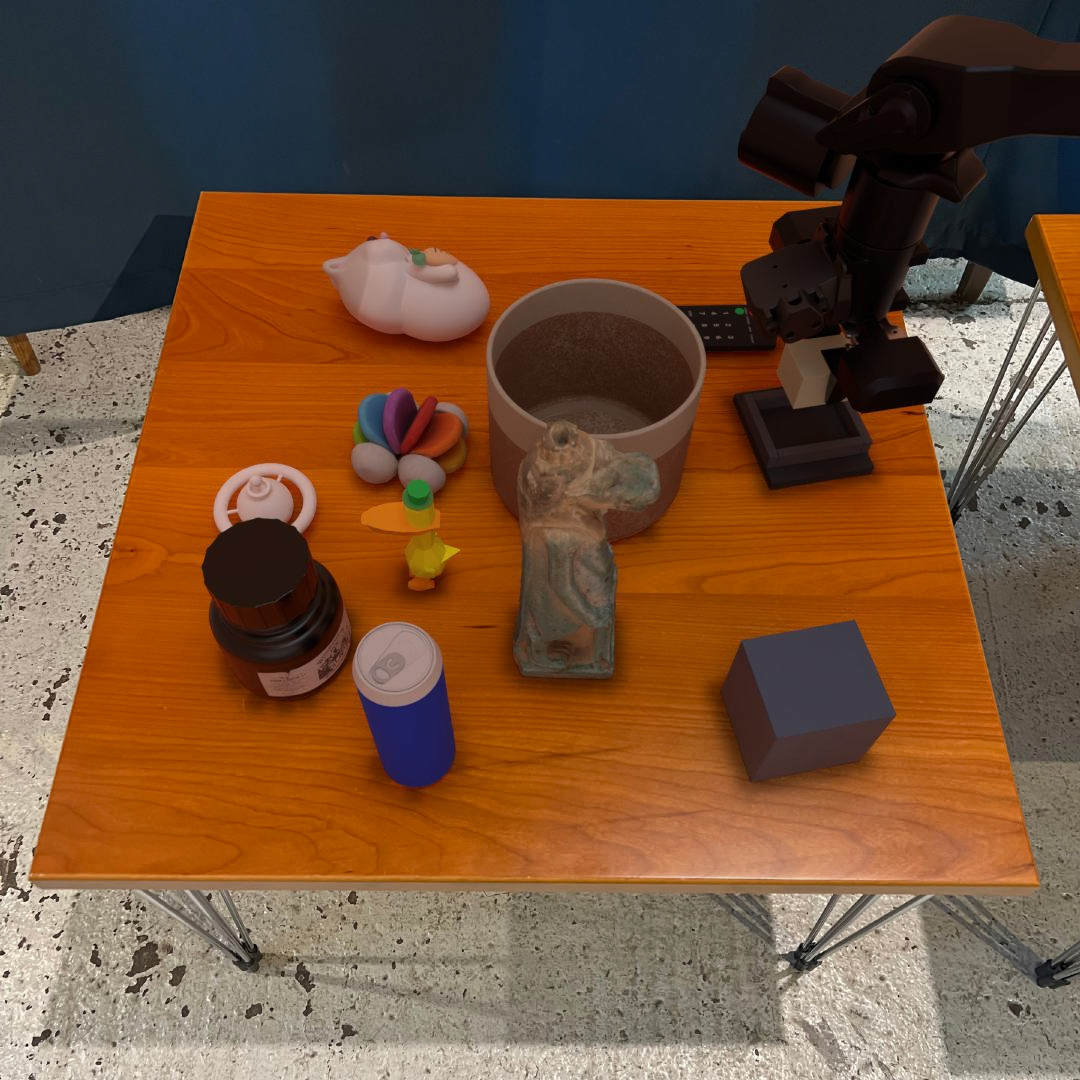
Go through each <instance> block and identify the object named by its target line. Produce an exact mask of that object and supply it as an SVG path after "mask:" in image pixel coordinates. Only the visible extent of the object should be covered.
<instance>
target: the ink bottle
mask: <svg viewBox="0 0 1080 1080" xmlns="http://www.w3.org/2000/svg"><path fill="white" fill-rule="evenodd" d="M232 525H233V526H232V527H230V528H228V529H227V530H225V531H223V532H219V533H218V535H216V537H215V539H214V540H213V541H212V542H211V544H209V546H208V547H207V548H206V549H205V554H204V558H203V562H202V563H201V571H202V577H203V584H204V586H205V588H206V590H207V591H208V593H209V596H210V597H211V600H210V603H209V609H208V621H209V627H210V630H211V633H212V635H213V638H214V640H215V641H216V643H217V645H218V647H219V649H220V651H221V652H222V654H223V656H224V658H225V659H226V661H227V663H228V664H229V666H230V668H231V671H232V672H233V673H234V675H235V677H236V678H237V680H238V681H239V682H240V683H241V684H242V685H243V686H244V687H245V688H247V689H248V690H249V691H251V692H252V693H255V694H256V695H258V696H260V697H262V698H263V697H264V698H266V699H270V700H275V701H295V700H301V699H304V698H306V697H310V696H312V695H314V694H315V693H317V692H319V691H320V690H322V689H323V688H325V687H326V686H327V685H329V684H330V683H331V682H332V681H333V680H334V679H335V678H336V677H337V676H338V675H339V674H340V672H341V671H342V669H343V668H344V667H345V665H346V663H347V661H348V659H349V657H350V654H351V651H352V645H353V631H352V626H351V622H350V619H349V616H348V612H347V609H346V606H345V602H344V600H343V599H344V598H343V596H342V593H341V590H340V588H339V587H340V586H339V584H338V582H337V580H336V578H335V577H334V575H333V574H332V573H331V571H329V569H328V568H327V567H326V566H325V565H324V564H322V563H321V562H320V561H319V560H317V559H315V558H314V557H313V555H312V551H311V548H310V546H309V543H308V540H307V538H306V537H304V536H303V534H301V533H300V532H299V531H298V530H297V528H296V527H295V526H293V525H292V524H290V523H285V522H283V521H281V520H280V519H268V518H260V517H258V518H254V519H251V520H247V521H243V522H242V521H238V522H235V523H234V524H232Z"/></svg>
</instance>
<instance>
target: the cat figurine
mask: <svg viewBox="0 0 1080 1080" xmlns="http://www.w3.org/2000/svg"><path fill="white" fill-rule="evenodd" d="M321 267H322V271H323V272H324V273H325V275H326V276H328V277H329V282H330V284H331V285H332V286H333V287H334V289H335V290H337V291H338V293H339V296H340V299H341V301H342V303H343V305H344V307H345V309H346V310H347V311H348V312H349V314H350V315H351V316H352V317H354V319H355V320H357V321H358V322H360V323H361V324H363V325H365V326H366V327H368V328H369V329H370V328H371V329H372V330H375V331H377V332H379V333H384V334H387V335H402V334H405V335H407V336H409V337H412V338H414V339H418V340H421V341H425V342H426V341H427V342H439V343H440V342H448V341H454V340H457V339H460V338H462V337H465V336H467V335H469V334H471V333H473V332H474V331H475V330H477V329H478V328H479V327H480V326H481V325H482V324H483V323H484V322H485V321H486V319H487V317H488V315H489V313H490V310H491V299H490V294H489V290H488V288H487V287H486V285H485V283H484V282H483V280H482V279H481V278H480V277H479V276H478V274H477V273H476V272H475V271H473V269H471V268H470V267H469V266H467V265H466V264H465V263H464V262H462V261H460V260H458V259H457V258H456V257H455V256H454V255H452V254H450V253H449V252H447V251H444V250H442V249H441V248H438V247H434V246H433V247H427V248H425V249H424V250H419V249H418V248H415V249H414V248H413V247H410V246H409V248H407V247H406V246H404V245H403V244H401V243H400V242H398V241H396V240H393V239H391V238H390V237H389V234H388V233H387V232H385V231H382V232H380V234H379V238H378V237H377V236H374V235H369V236H368V237H367V239H366V241H363V242H362V243H360V244H359V245H358V246H355V248H354V249H352V250H351V251H350V252H349V253H347V254H346V255H343V256H340V257H333V258H330V259H327V260H325V261H324V262H323V263H322V265H321Z"/></svg>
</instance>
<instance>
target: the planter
mask: <svg viewBox="0 0 1080 1080" xmlns="http://www.w3.org/2000/svg"><path fill="white" fill-rule="evenodd" d="M676 306H677V305H675V304H674V303H672V302H671V301H670V300H668V299H666V298H665V297H663V296H661V295H660V294H658V293H656V292H654V291H651V290H649V289H647V288H644V287H642V286H640V285H637V284H633V283H630V282H627V281H621V280H616V279H609V278H597V277H595V278H594V277H593V278H591V277H589V278H586V277H585V278H575V279H574V278H573V279H566V280H561V281H557V282H552V283H549V284H546V285H543V286H541V287H538V288H536V289H533V290H532V291H529V292H528V293H526V294H525V295H522V296H521V297H520V298H518V299H517V300H515V301H514V302H512V303H511V304H510V305H509V306H508V307H507V308H506V309H505V310H504V311H503V312H502V313H501V315H500V316H499V317H498V319H497V320H496V321H495V322H494V325H493V326H492V329H491V330H490V333H489V336H488V338H487V343H486V349H485V351H486V352H485V361H486V362H485V363H486V365H485V366H486V389H487V414H488V415H487V416H488V439H489V442H488V443H489V467H490V468H489V469H490V475H491V480H492V483H493V487H494V489H495V491H496V493H497V495H498V497H499V499H500V500H501V502H502V503H503V504H504V506H505V507H506V508H507V509H508V510H509V512H510V513H511V514H513V516H514V517H516V518H517V520H519V508H518V499H517V478H518V473H519V466H520V464H521V461H522V459H525V457H526V455H527V453H528V451H529V450H530V448H531V447H532V446H533V445H534V444H535V443H536V442H537V441H539V440H540V439H541V436H542V434H543V433H544V431H545V430H546V429H547V422H556V421H563V420H565V421H567V422H570V423H572V424H575V425H577V429H579V430H581V431H584V432H586V433H587V434H588V435H589V436H590V437H592V438H593V439H598V440H609V441H610V442H612V443H613V446H614V449H615V450H616V451H619V452H621V453H623V454H625V453H633V452H640V453H645V454H648V455H650V456H652V459H653V461H654V462H655V463H656V464H657V467H658V470H659V475H660V486H661V491H660V496H659V498H658V499H657V500H656V501H655V502H654V503H651V504H648V506H647V508H646V510H644V511H641V512H639V513H635V512H626V511H621V510H617V509H609V510H608V512H607V513H605V514H604V516H605V519H606V522H607V526H608V530H609V536H608V538H607V540H606V541H608V542H609V543H610V542H614V541H620V540H623V539H625V538H626V539H627V538H629V537H632V536H634V535H636V534H638V533H640V532H642V531H644V530H645V529H647V528H649V527H650V526H652V525H653V524H654V523H656V522H657V521H658V520H659V519H661V517H662V516H663V515H664V514H665V513H666V512H667V511H668V509H669V508H670V507H671V505H672V504H673V502H674V501H675V499H676V496H677V494H678V492H679V489H680V486H681V481H682V477H683V474H684V469H685V464H686V459H687V455H688V451H689V448H690V443H691V439H692V436H693V435H692V434H693V430H694V425H695V423H696V422H695V421H696V417H697V412H698V408H699V404H700V399H701V395H702V391H703V388H704V387H703V386H704V383H705V377H706V373H707V355H706V352H705V349H704V345H703V342H702V339H701V337H700V335H699V333H698V331H697V329H696V328H695V326H694V325H693V323H692V322H691V321H690V320H689V318H688V317H687V316H686V315H685V314H684V313H683V312H682V311H681V310H680V309H678V308H677V307H676Z"/></svg>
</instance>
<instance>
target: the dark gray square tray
mask: <svg viewBox="0 0 1080 1080" xmlns="http://www.w3.org/2000/svg"><path fill="white" fill-rule="evenodd" d="M732 403H733V406H734V408H735V411H736V413H737V416H738V418H739V420H740V423H741V425H742V427H743V430H744V432H745V434H746V437H747V439H748V443H749V444H750V447H751V449H752V451H753V455H754V456H755V459H756V461H757V463H758V466H759V468H760V471H761V473H762V476H763V478H764V480H765V482H766V483H765V484H766V485H767V487H768V490H769V491H774V490H780V489H787V488H794V487H798V486H799V487H800V486H805V485H811V484H817V483H823V482H830V481H831V482H832V481H836V480H842V479H848V478H855V477H862V476H867V475H872V473H873V471H874V469H875V465H874V462H873V461H872V459H871V457H870V455H869V451H870V449H871V447H872V444H873V442H874V441H873V439H872V436H871V435H870V433H869V431H868V429H867V427H866V425H865V423H864V421H863V419H862V418H861V415H860V412H858V411H856V410H854V409H852V407H851V405H850V403H849V401H843V402H840V403H837V404H832V405H826V404H823V405H817V406H810V407H804V408H797V409H793V408H792V405H791V403H790V401H789V399H788V397H787V395H786V392H785V390H784V388H783V386H782V385H781V386H776V387H769V388H763V389H756V390H749V391H742V392H736V393H734V394H733V397H732Z"/></svg>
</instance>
